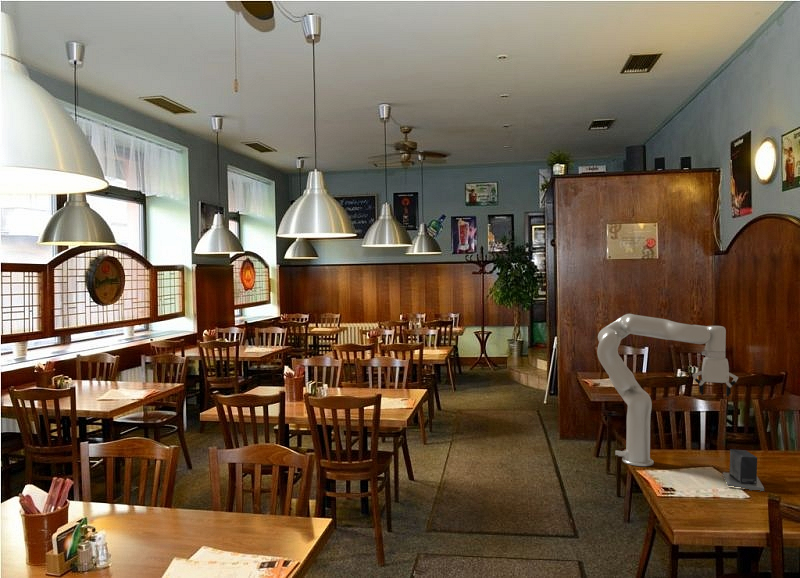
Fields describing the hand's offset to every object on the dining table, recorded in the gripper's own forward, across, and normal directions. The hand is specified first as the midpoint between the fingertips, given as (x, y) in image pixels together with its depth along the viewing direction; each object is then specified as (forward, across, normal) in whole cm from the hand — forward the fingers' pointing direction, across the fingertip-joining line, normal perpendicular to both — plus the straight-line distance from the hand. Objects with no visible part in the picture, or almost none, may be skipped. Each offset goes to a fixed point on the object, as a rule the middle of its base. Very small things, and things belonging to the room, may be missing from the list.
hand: (714, 395), depth 258 cm
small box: (+29, +8, -20) cm, 36 cm away
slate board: (+30, +8, -20) cm, 37 cm away
